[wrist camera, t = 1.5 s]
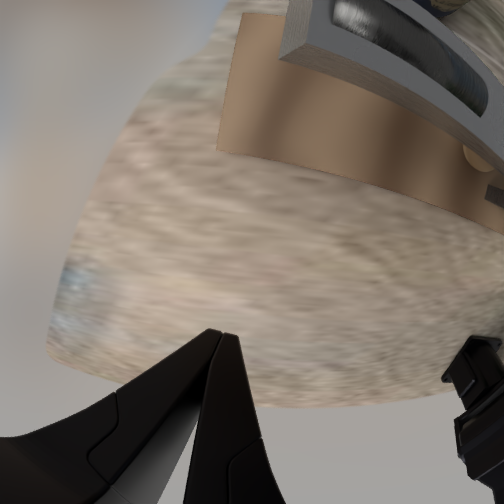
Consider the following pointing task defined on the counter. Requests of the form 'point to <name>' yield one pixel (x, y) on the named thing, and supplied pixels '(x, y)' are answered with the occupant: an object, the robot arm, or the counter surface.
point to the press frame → (495, 196)
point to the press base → (343, 129)
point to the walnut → (477, 160)
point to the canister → (441, 6)
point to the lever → (401, 64)
